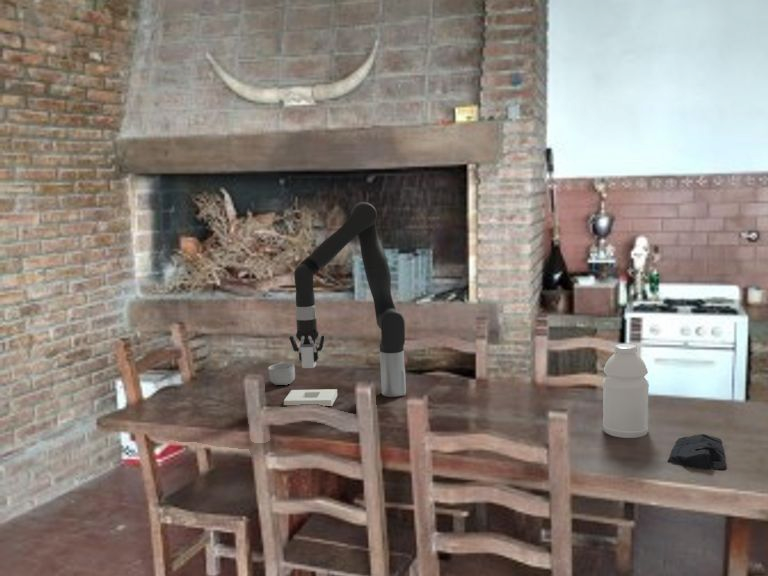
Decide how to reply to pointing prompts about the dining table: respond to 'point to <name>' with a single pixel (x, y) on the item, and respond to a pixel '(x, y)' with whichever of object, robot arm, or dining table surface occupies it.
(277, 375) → the teacup
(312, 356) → the plug
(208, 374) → the dining table surface
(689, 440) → the dark slate chunk
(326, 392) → the socket plate
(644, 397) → the bottle
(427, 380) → the dining table surface
